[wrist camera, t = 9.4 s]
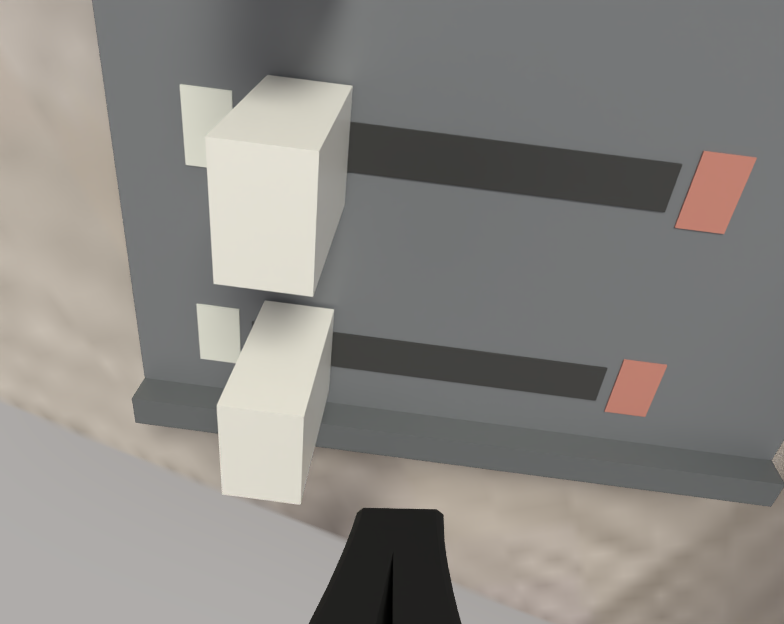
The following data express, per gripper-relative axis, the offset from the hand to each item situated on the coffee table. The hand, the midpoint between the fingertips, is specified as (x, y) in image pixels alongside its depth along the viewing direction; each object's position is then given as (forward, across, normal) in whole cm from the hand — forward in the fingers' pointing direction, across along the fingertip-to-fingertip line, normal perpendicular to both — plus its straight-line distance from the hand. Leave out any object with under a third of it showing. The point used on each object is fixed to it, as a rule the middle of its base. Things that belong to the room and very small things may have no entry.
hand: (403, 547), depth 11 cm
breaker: (+5, +2, -5) cm, 8 cm away
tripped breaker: (+5, +3, 0) cm, 6 cm away
